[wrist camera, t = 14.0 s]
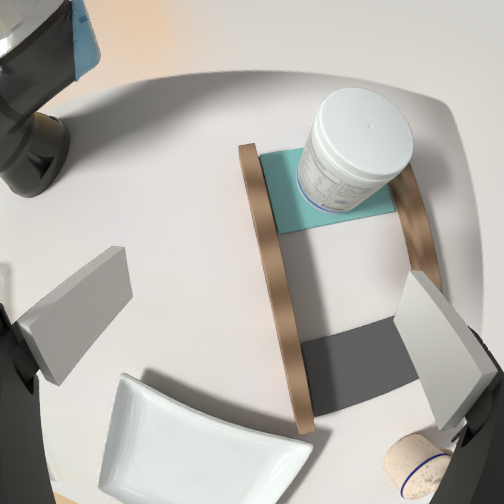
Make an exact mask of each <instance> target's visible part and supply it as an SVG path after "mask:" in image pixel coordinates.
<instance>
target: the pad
mask: <svg viewBox="0 0 504 504" xmlns="http://www.w3.org/2000/svg"><path fill="white" fill-rule="evenodd" d="M303 150H304V148H299V149H292V150H286V151H279V152H273V153H267V154H261V155H260V159H261V163H262V167H263V171H264V175H265V179H266V183H267V188H268V192H269V196H270V200H271V204H272V208H273V213H274V217H275V221H276V225H277V230H278V234H283V233H288V232H293V231H298V230H303V229H308V228H313V227H318V226H323V225H328V224H333V223H338V222H343V221H348V220H353V219H359V218H364V217H369V216H374V215H379V214H385V213H390V212H394V211H395V209H394V206H393V202H392V199H391V196H390V192H389V189H388V186H387V184H385V185H384V186H383V187H381V188H380V189H379V190H378V191H376V192H375V193H374V194H372V195H371V196H370V197H368V198H367V199H365V200H364V201H363V202H361V203H360V204H359V205H357V206H356V207H355V208H353V209H352V210H350V211H348V212H346V213H342V214H328V213H324V212H321V211H319V210H317V209H315V208H314V207H312V206H311V205H310V204H309V203H308V202H307V201H306V200H305V199H304V198H303V196H302V195H301V193H300V191H299V189H298V186H297V181H296V172H297V167H298V164H299V161H300V159H301V156H302V153H303Z"/></svg>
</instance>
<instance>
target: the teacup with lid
mask: <svg viewBox="0 0 504 504" xmlns="http://www.w3.org/2000/svg"><path fill="white" fill-rule="evenodd" d="M453 453H454V452H453V451H451V450H449V449H446V448H437V447H436V446H435V445H433V444H432V443H431V442H430V441H428V440H427V439H426V438H425V437H424V436H422V435H420V434H412V435H409V436H406V437H404V438H402V439H401V440H399V441H398V442H396V443H395V444H394V445H393V446H392V447H391V448H390V449H389V451H388V452H387V453H386V455H385V457H384V459H383V464H382V465H383V469H384V471H385V472H386V473H387V475H388V476H389V477H390V479H391V480H392V481H393V483H394V484H395V485H396V487H397V488H398V489H399V490H400V492H401V496H402V497H403V498H405V499H408V500H415V499H419V498H421V497H424V496H426V495H427V494H429V493H431V492H435V491H436V490H437V488H438V486H439V484H440V482H441V480H442V478H443V476H444V474H445V472H446V469H447V467H448V465H449V463H450V460H451V458H452V455H453Z"/></svg>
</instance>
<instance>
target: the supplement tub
mask: <svg viewBox="0 0 504 504" xmlns="http://www.w3.org/2000/svg"><path fill="white" fill-rule="evenodd" d="M413 150H414V140H413V135H412V131H411V128H410V126H409V124H408V122H407V120H406V119H405V117H404V116H403V114H402V113H401V112H400V110H399V109H398V108H397V107H396V106H395V105H394V104H393V103H391V102H390V101H389V100H387V99H386V98H385V97H383V96H381V95H379V94H377V93H375V92H373V91H370V90H367V89H363V88H355V87H349V88H343V89H339V90H337V91H335V92H333V93H331V94H330V95H329V96H328V97H327V98H326V99H325V100H324V102H323V103H322V105H321V107H320V108H319V110H318V112H317V114H316V117H315V120H314V122H313V125H312V128H311V131H310V134H309V137H308V139H307V142H306V145H305V148H304V150H303V153H302V156H301V159H300V161H299V164H298V167H297V172H296V181H297V186H298V189H299V191H300V193H301V195H302V196H303V198H304V199H305V200H306V201H307V202H308V203H309V204H310V205H311V206H312V207H314V208H315V209H317V210H319V211H321V212H324V213H328V214H342V213H346V212H348V211H350V210H352V209H353V208H355V207H356V206H357V205H359V204H360V203H361V202H363V201H364V200H365V199H367V198H368V197H370V196H371V195H372V194H374V193H375V192H376V191H378V190H379V189H380V188H381V187H383V186H384V185H385V184H387V183H388V182H389V181H391V180H392V179H393V178H395V177H396V176H397V175H398V174H399V173H400V172H401V171H402V170H403V169H404V168H405V167H406V166H407V164H408V163H409V161H410V160H411V158H412V154H413Z"/></svg>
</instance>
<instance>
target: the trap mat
mask: <svg viewBox="0 0 504 504" xmlns="http://www.w3.org/2000/svg"><path fill="white" fill-rule="evenodd" d="M394 317H395V316H392V317H389V318H386V319H383V320H380V321H377V322H374V323H371V324H368V325H365V326H362V327H359V328H355V329H352V330H349V331H346V332H342V333H339V334H335V335H332V336H328V337H324V338H321V339H317V340H313V341H309V342H306V343H302V348H303V353H304V359H305V364H306V369H307V375H308V380H309V386H310V391H311V397H312V403H313V409H314V415H315V417H317V416H321V415H324V414H328V413H331V412H334V411H338V410H341V409H344V408H347V407H350V406H353V405H356V404H359V403H362V402H364V401H367V400H370V399H372V398H375V397H378V396H380V395H383V394H385V393H388V392H390V391H392V390H395V389H397V388H399V387H402V386H404V385H406V384H408V383H411V382H413V381H415V380H417V379H419V376H418V374H417V371H416V369H415V367H414V364H413V362H412V360H411V358H410V355H409V353H408V351H407V349H406V346H405V344H404V342H403V340H402V338H401V336H400V333H399V331H398V329H397V327H396V325H395V323H394V321H393V320H394Z"/></svg>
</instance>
